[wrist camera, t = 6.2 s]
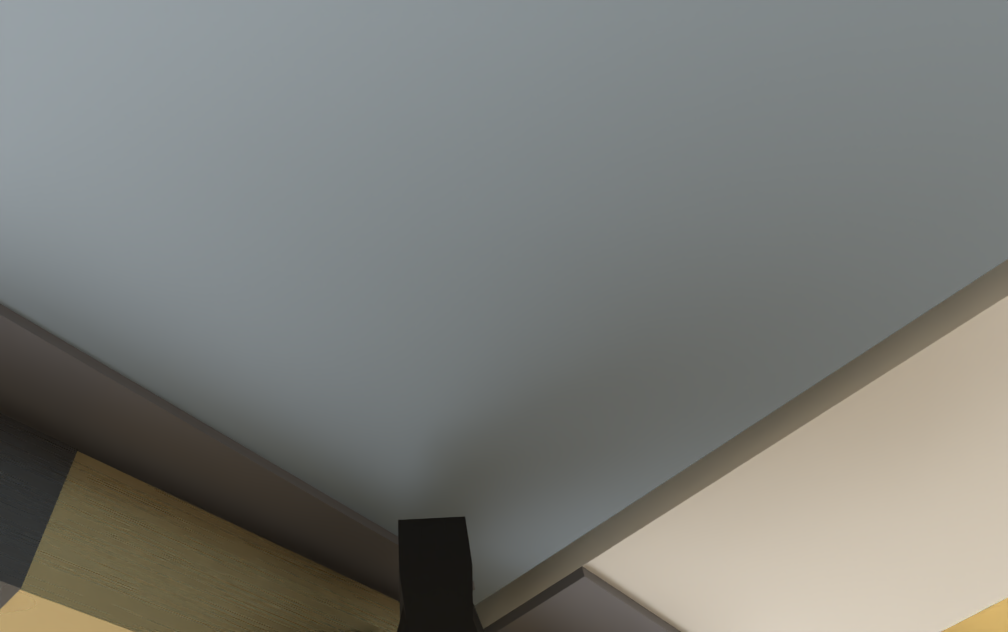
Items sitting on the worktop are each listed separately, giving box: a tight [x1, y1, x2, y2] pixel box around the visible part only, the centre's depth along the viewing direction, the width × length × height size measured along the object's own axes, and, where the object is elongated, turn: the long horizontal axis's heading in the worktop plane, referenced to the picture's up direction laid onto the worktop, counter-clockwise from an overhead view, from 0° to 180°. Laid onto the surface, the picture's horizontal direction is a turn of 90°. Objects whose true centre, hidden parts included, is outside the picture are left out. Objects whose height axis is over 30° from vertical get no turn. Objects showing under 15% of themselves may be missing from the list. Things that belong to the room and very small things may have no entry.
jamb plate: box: [475, 259, 1008, 632], centre depth 16 cm, size 7×22×2 cm, turn 131°
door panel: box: [0, 0, 1008, 606], centre depth 10 cm, size 12×22×3 cm, turn 131°
